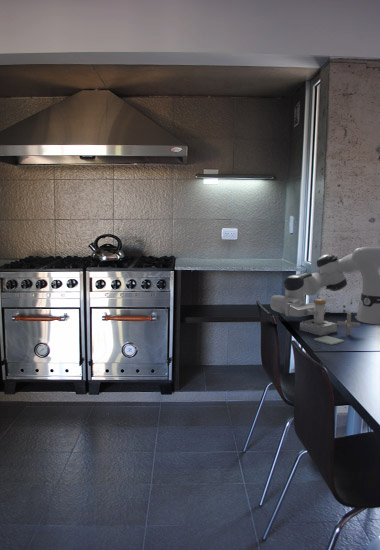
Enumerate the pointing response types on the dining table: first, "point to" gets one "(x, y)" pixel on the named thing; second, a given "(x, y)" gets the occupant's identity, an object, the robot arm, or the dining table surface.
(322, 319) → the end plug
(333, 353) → the dining table surface
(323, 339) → the rubber mat
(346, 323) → the pipe connector
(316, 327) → the housing block
